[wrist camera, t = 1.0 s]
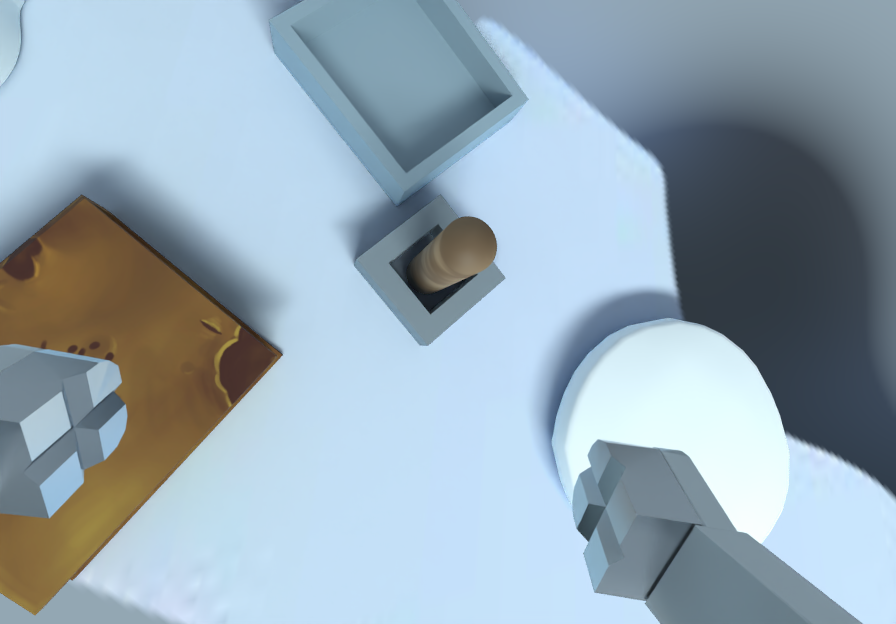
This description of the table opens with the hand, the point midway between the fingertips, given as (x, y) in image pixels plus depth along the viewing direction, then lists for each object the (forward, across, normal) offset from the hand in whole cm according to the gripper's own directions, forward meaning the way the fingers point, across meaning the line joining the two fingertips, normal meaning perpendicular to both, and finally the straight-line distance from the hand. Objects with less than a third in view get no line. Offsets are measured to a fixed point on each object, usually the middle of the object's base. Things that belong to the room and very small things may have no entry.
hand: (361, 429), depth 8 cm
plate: (+33, -30, +25) cm, 51 cm away
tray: (+44, +5, -4) cm, 45 cm away
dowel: (+35, -1, +11) cm, 37 cm away
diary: (+24, +24, +22) cm, 41 cm away
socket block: (+35, -1, +11) cm, 37 cm away
